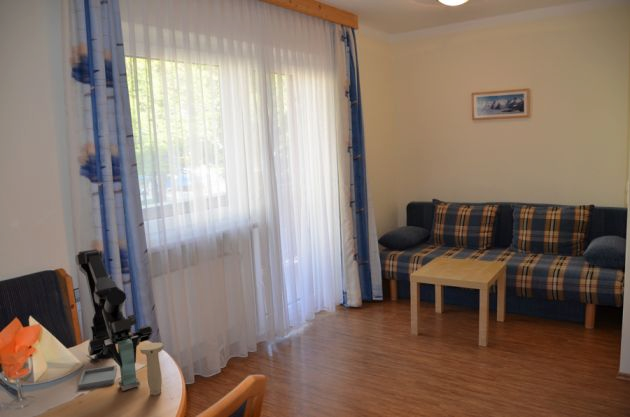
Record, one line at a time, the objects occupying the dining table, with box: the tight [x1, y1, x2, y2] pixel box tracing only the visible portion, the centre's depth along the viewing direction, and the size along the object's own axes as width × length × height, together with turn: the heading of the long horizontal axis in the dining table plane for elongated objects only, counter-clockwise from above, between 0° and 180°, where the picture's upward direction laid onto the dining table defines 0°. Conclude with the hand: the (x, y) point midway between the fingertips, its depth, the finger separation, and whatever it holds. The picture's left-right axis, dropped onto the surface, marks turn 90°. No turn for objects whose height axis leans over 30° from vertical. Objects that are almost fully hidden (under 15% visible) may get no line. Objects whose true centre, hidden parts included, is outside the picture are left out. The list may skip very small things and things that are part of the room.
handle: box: [139, 342, 164, 396], centre depth 151 cm, size 5×6×15 cm
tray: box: [77, 364, 118, 390], centre depth 162 cm, size 10×10×2 cm
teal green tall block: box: [116, 339, 141, 391], centre depth 156 cm, size 5×5×14 cm
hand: (128, 364), depth 154 cm, fingers closed on teal green tall block, 4 cm apart
